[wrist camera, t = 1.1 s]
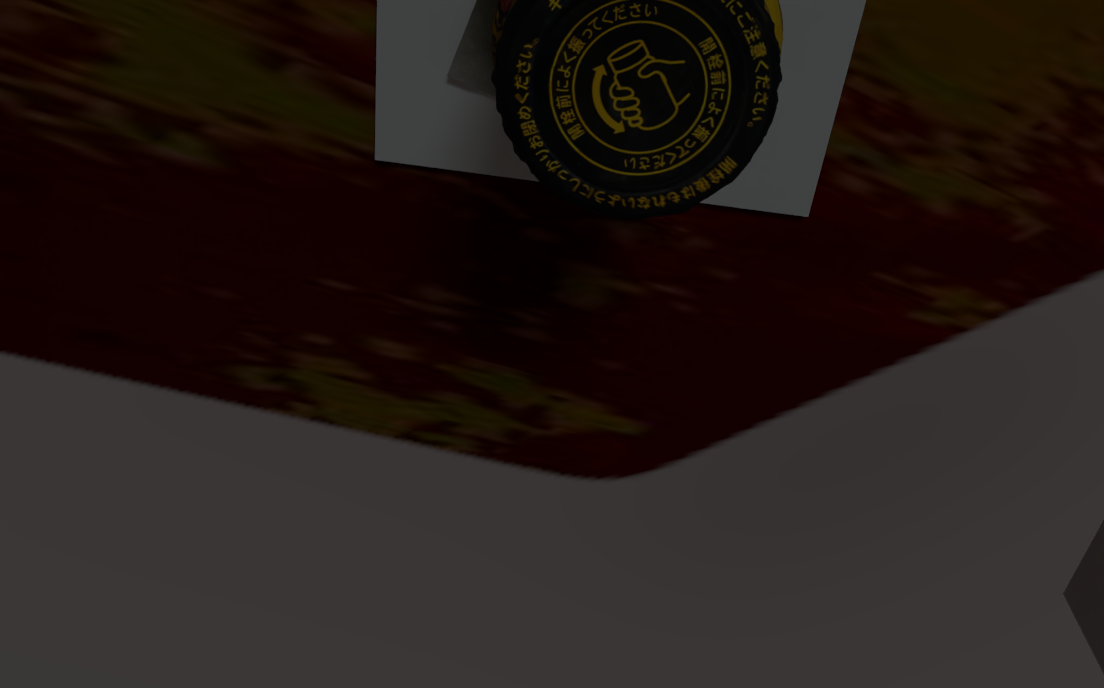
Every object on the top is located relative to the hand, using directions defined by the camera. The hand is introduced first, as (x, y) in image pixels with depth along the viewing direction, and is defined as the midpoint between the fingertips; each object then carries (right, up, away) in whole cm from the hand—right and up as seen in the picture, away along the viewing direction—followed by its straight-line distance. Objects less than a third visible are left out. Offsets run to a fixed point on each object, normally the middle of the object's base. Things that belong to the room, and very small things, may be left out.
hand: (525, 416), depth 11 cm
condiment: (+2, +11, +18) cm, 21 cm away
